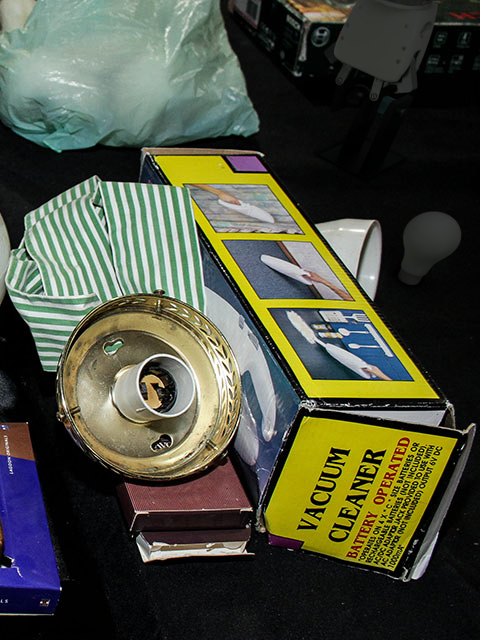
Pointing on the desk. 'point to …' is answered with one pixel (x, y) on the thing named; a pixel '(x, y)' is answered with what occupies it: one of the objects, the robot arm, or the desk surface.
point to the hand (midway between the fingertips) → (350, 114)
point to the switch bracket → (364, 154)
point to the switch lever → (360, 92)
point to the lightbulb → (427, 244)
